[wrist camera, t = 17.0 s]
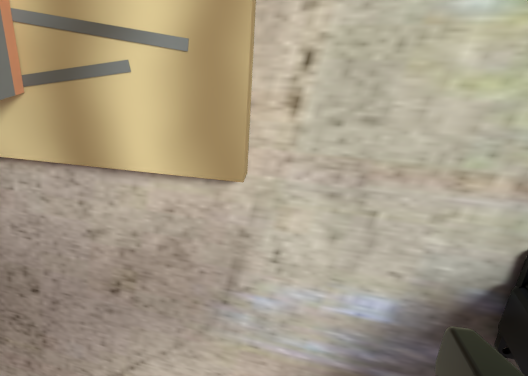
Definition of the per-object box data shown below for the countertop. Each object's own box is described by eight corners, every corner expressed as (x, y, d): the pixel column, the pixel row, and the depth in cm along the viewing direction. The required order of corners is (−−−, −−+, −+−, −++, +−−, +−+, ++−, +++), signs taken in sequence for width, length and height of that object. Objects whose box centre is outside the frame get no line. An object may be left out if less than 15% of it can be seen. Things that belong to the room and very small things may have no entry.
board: (263, -161, 16) (259, -173, 15) (247, 172, 21) (242, 183, 20) (-95, -175, 17) (-126, -187, 16) (-24, 144, 22) (-43, 152, 21)
